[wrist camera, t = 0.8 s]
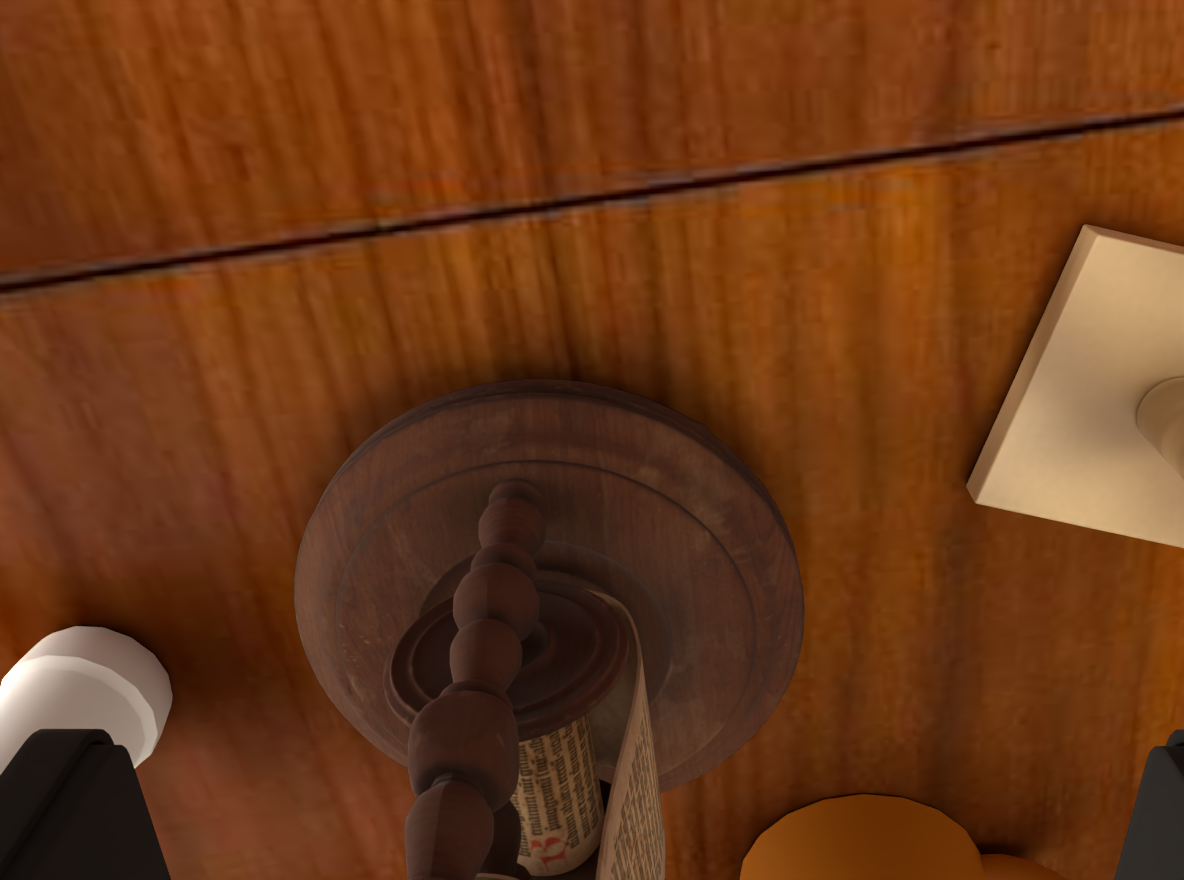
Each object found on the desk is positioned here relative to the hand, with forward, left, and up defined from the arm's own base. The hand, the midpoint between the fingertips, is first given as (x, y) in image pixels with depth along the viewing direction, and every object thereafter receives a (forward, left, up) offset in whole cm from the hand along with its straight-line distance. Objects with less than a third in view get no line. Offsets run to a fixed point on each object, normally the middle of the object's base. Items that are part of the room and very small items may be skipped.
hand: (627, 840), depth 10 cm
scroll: (+11, 0, -20) cm, 23 cm away
